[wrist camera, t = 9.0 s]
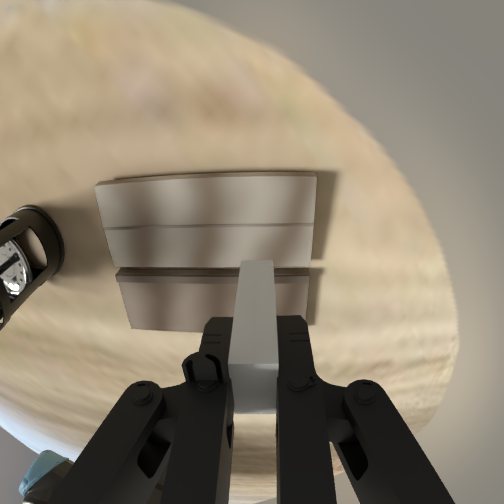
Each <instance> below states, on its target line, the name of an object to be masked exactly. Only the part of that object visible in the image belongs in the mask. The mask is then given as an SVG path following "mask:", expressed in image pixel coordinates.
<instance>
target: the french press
mask: <svg viewBox="0 0 504 504" xmlns="http://www.w3.org/2000/svg"><path fill="white" fill-rule="evenodd" d="M28 227H30V228H31V229H32V230H33V231H34V233H35V234H36V236H37V237H38V238H39V240H40V242H41V244H42V246H43V249H44V251H45V255H46V258H47V267H46V268H38V267H35V266H33V265H32V264H30V261H29V259H28V256H27V255H26V253H25V251H24V249H23V248H22V246H21V245H20V243H19V242H18V241H17V240H16V236H17V235H18V234H20V233H21V232H23V231H24V230H25V229H27V228H28ZM63 261H64V244H63V240H62V237H61V234H60V231H59V230H58V228H57V226H56V224H55V223H54V221H53V220H52V219H51V217H50V216H49V215H48V214H47V213H45V212H44V211H43V210H41V209H39V208H37V207H35V206H23V207H20V208H19V209H17V210H16V211H15V212H14V213H13V214H12V215H10V216H9V217H7V218H5V219H4V220H3V221H2V222H1V223H0V320H1V319H2V318H3V323H0V330H1V329H2V328H3V327H4V326H5V325H6V324H7V322H8V321H9V320H10V318H11V316H12V315H13V313H14V312H15V311H16V310H17V309H18V308H19V307H20V306H21V305H22V304H23V302H24V301H25V300H26V299H27V298H28V297H29V296H30V295H31V294H32V293H33V292H34V291H35V290H36V289H37V288H38V287H39V286H41V285H42V284H43V283H44V282H45V281H46V280H47V279H48V278H49V277H51V276H53V275H55V274H56V273H57V272H58V271H59V270H60V268H61V266H62V264H63Z"/></svg>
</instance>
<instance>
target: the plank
mask: <svg viewBox="0 0 504 504" xmlns="http://www.w3.org/2000/svg"><path fill="white" fill-rule="evenodd" d="M316 184H317V176H316V174H315V172H235V173H206V174H186V175H169V176H155V177H142V178H131V179H120V180H110V181H101V182H98V183H97V184H96V185H95V186H94V190H95V194H96V199H97V203H98V207H99V212H100V216H101V220H102V224H103V230H104V231H105V235H106V239H107V243H108V246H109V250H110V253H111V257H112V260H113V264H114V267H240V264H241V260H273V267H310V263H311V252H312V240H313V228H314V214H315V200H316Z"/></svg>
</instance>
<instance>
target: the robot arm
mask: <svg viewBox="0 0 504 504" xmlns="http://www.w3.org/2000/svg"><path fill="white" fill-rule="evenodd" d="M182 368H183V372H184V376H185V379H186V382H184V383H182V384H180V385H176V386H172V387H167V388H160V387H159V385H158V384H156V383H154V382H152V381H138V382H136V383H134V384H132V385H130V386H129V387H128V388H127V389H126V390H125V392H124V393H123V394H122V396H121V397H120V399H119V400H118V401H117V403H116V404H115V406H114V407H113V408H112V410H111V411H110V413H109V414H108V415H107V417H106V418H105V420H104V421H103V422H102V424H101V425H100V427H99V428H98V430H97V431H96V432H95V434H94V435H93V437H92V438H91V440H90V441H89V442H88V444H87V445H86V447H85V448H84V450H83V451H82V452H81V454H80V455H79V457H78V458H77V460H76V461H75V463H74V462H72V461H71V460H69V458H65V457H63V456H61V455H59V454H57V453H55V452H53V451H51V450H45V451H43V452H41V453H40V454H39V456H38V457H37V458H36V460H35V461H34V462H33V464H32V465H31V467H30V468H29V470H28V471H27V473H26V475H25V478H24V479H23V481H22V482H21V484H20V487H19V492H20V493H21V494H22V496H25V498H24V501H23V504H228V501H229V488H230V475H231V462H232V449H233V437H234V422H233V415H234V413H235V414H276V457H277V504H337V501H336V492H335V483H334V475H333V467H332V459H331V452H330V444H329V441H330V442H332V443H333V445H334V447H335V450H336V452H337V454H338V456H339V458H340V461H341V463H342V465H343V467H344V469H345V471H346V474H347V476H348V478H349V480H350V482H351V485H352V487H353V489H354V491H355V493H356V495H357V497H358V500H359V502H360V504H455V503H454V501H453V499H452V498H451V496H450V494H449V493H448V491H447V489H446V488H445V486H444V484H443V482H442V481H441V479H440V478H439V476H438V474H437V473H436V471H435V469H434V468H433V466H432V465H431V463H430V461H429V460H428V458H427V457H426V455H425V453H424V452H423V450H422V449H421V447H420V445H419V444H418V442H417V441H416V439H415V437H414V436H413V434H412V433H411V431H410V429H409V428H408V426H407V425H406V423H405V422H404V420H403V418H402V417H401V415H400V414H399V412H398V411H397V409H396V408H395V406H394V405H393V403H392V401H391V400H390V398H389V397H388V395H387V394H386V392H385V391H384V389H383V388H382V387H381V386H380V385H379V384H378V383H375V382H373V381H371V380H365V379H363V380H356V381H354V382H352V383H350V384H349V385H348V386H347V387H342V386H336V385H332V384H329V383H327V382H325V381H323V380H322V379H321V378H319V376H318V375H317V374H316V371H315V368H314V361H313V355H312V349H311V343H310V337H309V332H308V326H307V322H306V321H305V320H304V319H303V318H302V316H301V315H285V316H276V302H275V284H274V267H273V260H241V264H240V272H239V280H238V287H237V295H236V303H235V311H234V317H211V319H210V320H209V321H208V322H207V323H206V324H205V327H204V331H203V336H202V340H201V344H200V348H199V352H196V353H193V354H191V355H189V356H188V357H187V358H186V359H185V360H184V361H183V363H182Z"/></svg>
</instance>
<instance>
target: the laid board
mask: <svg viewBox="0 0 504 504" xmlns="http://www.w3.org/2000/svg"><path fill="white" fill-rule="evenodd" d="M239 272H240V269H136V268H120V270H119V271H118V272H117V274H116V275H115V276H116V280H117V282H119V286H120V290H121V294H122V298H123V301H124V305H125V308H126V312H127V315H128V319H129V322H130V325H131V329H143V330H158V331H177V332H202V333H203V331H204V327H205V324H206V323H207V322H208V321H209V320H210V319H211V317H234V311H235V303H236V295H237V287H238V280H239ZM309 281H310V275H309V270H308V268H280V269H274V284H275V302H276V316H285V315H301V316H302V318H303V319H304V320H306V309H307V298H308V287H309Z"/></svg>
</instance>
